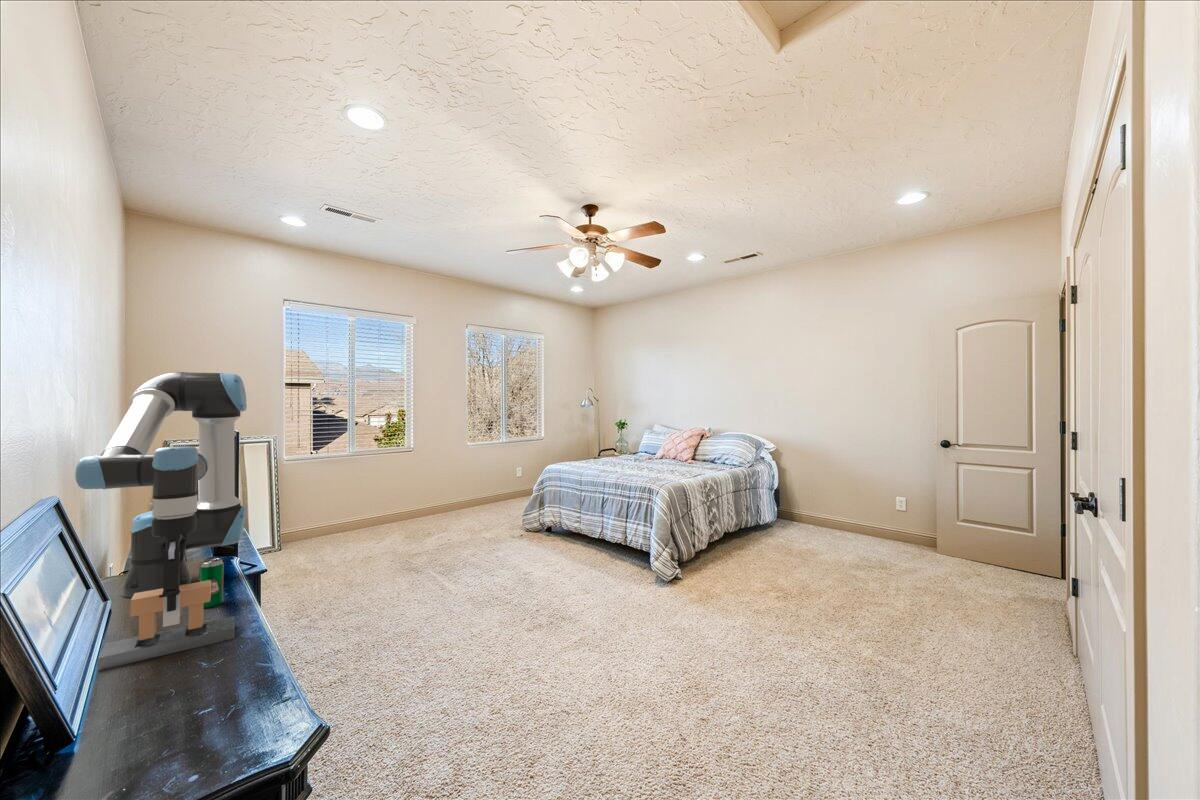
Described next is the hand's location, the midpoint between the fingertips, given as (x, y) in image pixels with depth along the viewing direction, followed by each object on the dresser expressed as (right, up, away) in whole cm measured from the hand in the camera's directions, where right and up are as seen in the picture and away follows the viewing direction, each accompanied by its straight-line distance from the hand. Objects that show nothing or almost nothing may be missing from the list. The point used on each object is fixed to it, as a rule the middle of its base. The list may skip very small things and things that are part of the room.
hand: (172, 620), depth 106 cm
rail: (0, -6, 0) cm, 6 cm away
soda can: (-10, -7, +23) cm, 26 cm away
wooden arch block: (0, -2, 0) cm, 2 cm away
